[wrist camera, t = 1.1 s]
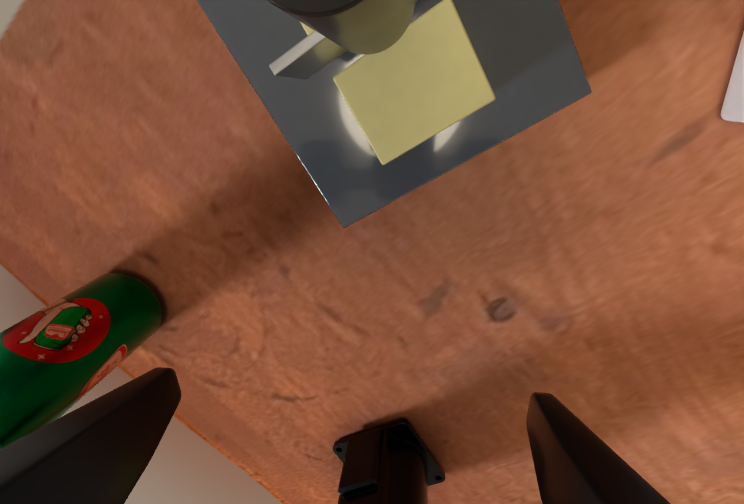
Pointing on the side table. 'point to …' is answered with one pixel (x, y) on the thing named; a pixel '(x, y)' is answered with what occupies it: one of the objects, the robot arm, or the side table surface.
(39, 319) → the soda can
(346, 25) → the knife
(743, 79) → the white canister
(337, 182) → the butter dish
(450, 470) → the side table surface
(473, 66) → the butter
